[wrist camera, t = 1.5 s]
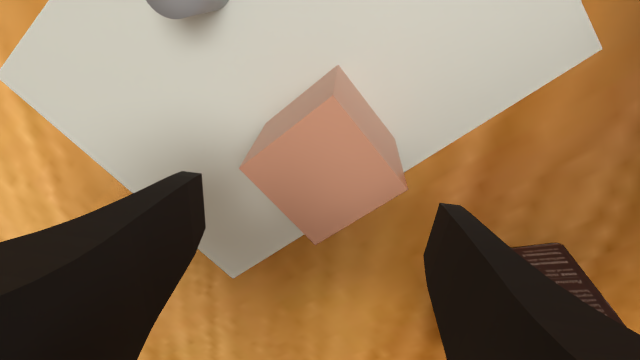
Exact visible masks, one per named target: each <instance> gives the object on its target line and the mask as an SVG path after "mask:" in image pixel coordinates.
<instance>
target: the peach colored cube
mask: <svg viewBox="0 0 640 360" xmlns="http://www.w3.org/2000/svg"><path fill="white" fill-rule="evenodd" d="M239 169H240V170H241V171H242V172H243V173H244V174H245V175H246V176H247V177H248V178H249V179H250V180H251V181H252V182H253V183H254V184H255V185H256V186H257V187H258V188H259V189H260V190H261V191H262V192H263V193H264V194H265V195H266V196H267V197H268V198H269V199H270V200H271V201H272V202H273V203H274V204H275V205H276V206H277V207H278V208H279V209H280V210H281V211H282V212H283V213H284V214H285V215H286V216H287V217H288V218H289V219H290V220H291V221H292V222H293V223H294V224H295V225H296V226H297V227H298V228H299V229H300V230H301V231H302V232H303V233H304V234H305V235H306V236H307V237H308V238H309V240H310V241H311V242H312V243H313V244H314V245H316V244H318V243H320V242H321V241H323V240H325V239H326V238H328V237H330V236H331V235H333V234H335V233H336V232H338V231H340V230H341V229H343V228H345V227H346V226H348V225H350V224H351V223H353V222H355V221H356V220H358V219H360V218H361V217H363V216H365V215H366V214H368V213H370V212H371V211H373V210H375V209H377V208H378V207H380V206H382V205H383V204H385V203H387V202H388V201H390V200H392V199H393V198H395V197H397V196H398V195H400V194H402V193H403V192H405V191H407V190H408V187H407V183H406V180H405V176H404V172H403V168H402V164H401V160H400V157H399V153H398V149H397V145H396V141H395V138H394V137H393V136H392V134H391V133H390V132H389V130H388V129H387V128H386V126H385V125H384V124H383V122H382V121H381V120H380V119H379V117H378V116H377V115H376V113H375V112H374V111H373V109H372V108H371V107H370V105H369V104H368V103H367V102H366V100H365V99H364V98H363V96H362V95H361V94H360V92H359V91H358V90H357V88H356V87H355V86H354V84H353V83H352V82H351V81H350V79H349V78H348V77H347V75H346V74H345V73H344V71H343V70H342V69H341V67H340V66H339V65H337V66H336V67H334V68H333V69H332V70H331V71H329V72H328V73H327V74H326V75H324V76H323V77H322V78H321V79H320V80H318V81H317V82H316V83H315V84H313V85H312V86H311V87H310V88H308V89H307V90H306V91H305V92H303V93H302V94H301V95H300V96H299V97H297V98H296V99H295V100H294V101H292V102H291V103H290V104H289V105H287V106H286V107H285V108H284V109H283V110H281V111H280V112H279V113H278V114H276V115H275V116H274V117H273V118H271V119H270V120H269V121H268V122H266V124H265V125H264V127H263V129H262V130H261V132H260V134H259V135H258V137H257V139H256V140H255V142H254V144H253V145H252V147H251V149H250V150H249V152H248V154H247V155H246V157H245V159H244V160H243V162H242V164H241V165H240V167H239Z"/></svg>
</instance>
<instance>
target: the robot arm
mask: <svg viewBox="0 0 640 360" xmlns="http://www.w3.org/2000/svg"><path fill="white" fill-rule="evenodd" d="M205 229H206V224H205V211H204V197H203V184H202V173H194V172H186V171H181V172H178V173H175V174H173V175H171V176H168V177H166V178H164V179H162V180H160V181H158V182H156V183H154V184H152V185H150V186H148V187H146V188H144V189H141V190H139V191H137V192H135V193H133V194H131V195H129V196H127V197H125V198H123V199H120V200H118V201H116V202H113V203H111V204H109V205H107V206H104V207H102V208H100V209H97V210H95V211H93V212H90V213H88V214H86V215H83V216H81V217H78V218H75V219H73V220H70V221H67V222H64V223H62V224H59V225H56V226H53V227H50V228H47V229H44V230H41V231H38V232H35V233H31V234H28V235H24V236H21V237H17V238H14V239H10V240H7V241H3V242H0V360H137V359H138V357H139V354H140V352H141V350H142V348H143V346H144V344H145V341H146V339H147V337H148V335H149V333H150V331H151V329H152V327H153V325H154V323H155V322H156V320H157V318H158V316H159V314H160V313H161V311H162V309H163V308H164V306H165V304H166V303H167V301H168V299H169V298H170V296H171V294H172V293H173V291H174V289H175V288H176V286H177V284H178V283H179V281H180V279H181V278H182V276H183V274H184V272H185V271H186V269H187V267H188V266H189V264H190V262H191V260H192V259H193V257H194V255H195V253H196V251H197V248H198V246H199V244H200V241H201V239H202V236H203V234H204V231H205ZM424 265H425V273H426V281H427V287H428V291H429V295H430V298H431V302H432V306H433V310H434V313H435V317H436V321H437V324H438V328H439V332H440V335H441V339H442V343H443V346H444V350H445V354H446V358H447V360H640V335H639V334H637V333H636V332H634V331H632V330H630V329H628V328H627V327H625V326H623V325H622V324H620V323H618V322H617V321H615V320H613V319H611V318H610V317H608V316H606V315H605V314H603V313H601V312H599V311H598V310H596V309H595V308H593V307H591V306H590V305H588V304H587V303H585V302H583V301H582V300H580V299H579V298H577V297H576V296H574V295H573V294H571V293H570V292H568V291H567V290H566V289H564V288H563V287H561V286H560V285H558V284H557V283H555V282H554V281H552V280H551V279H550V278H548V277H547V276H545V275H544V274H543V273H541V272H540V271H539V270H538V269H536V268H535V267H534V266H532V265H531V264H530V263H529V262H527V261H526V260H525V259H523V258H522V257H521V256H520V255H519V254H517V253H516V252H515V251H514V250H512V249H511V248H510V247H509V246H508V245H506V244H505V243H504V242H503V241H502V240H501V239H499V238H498V237H497V236H496V235H495V234H494V233H493V232H491V231H490V230H489V229H488V228H487V227H486V226H485V225H483V224H482V223H481V222H480V221H479V220H478V219H477V218H475V217H474V216H473V215H472V214H471V213H470V212H468V211H467V210H466V209H465V208H463V207H462V206H460V205H453V204H445V203H440V204H439V207H438V210H437V214H436V217H435V220H434V223H433V227H432V230H431V233H430V236H429V239H428V243H427V246H426V249H425V252H424Z"/></svg>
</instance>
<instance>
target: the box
mask: <svg viewBox="0 0 640 360" xmlns="http://www.w3.org/2000/svg"><path fill="white" fill-rule="evenodd" d="M511 249H512V250H514V251H515V252H516V253H517V254H519V255H520V256H521V257H522V258H523V259H525V260H526V261H527V262H529V263H530V264H531V265H532V266H534V267H535V268H536V269H538V270H539V271H540V272H541V273H543V274H544V275H545V276H547V277H548V278H550V279H551V280H552V281H554V282H555V283H557V284H558V285H560V286H561V287H563V288H564V289H566V290H567V291H568V292H570V293H571V294H573V295H574V296H576V297H577V298H579V299H580V300H582V301H583V302H585V303H587V304H588V305H590V306H591V307H593V308H595V309H596V310H598V311H599V312H601V313H603V314H605V315H606V316H608V317H610V318H611V319H613V320H615V321H617V322H618V323H620V324H622V325H623V326H625V325H624V323H623V322H622V321H621V319H620V318H619V317H618V315H617V314H616V313H615V311H614V310H613V309H612V308H611V306H610V305H609V303H608V302H607V301H606V300H605V299H604V297H603V296H602V295H601V293H600V292H599V291H598V289H597V288H596V287H595V286H594V284H593V283H592V281H591V280H590V279H589V278H588V277H587V275H586V274H585V272H584V271H583V270H582V269H581V267H580V266H579V265H578V263H577V262H576V261H575V260H574V258H573V257H572V256H571V255H570V253H569V252H568V251H567V249H566V248H565V247H564V246H563V245H561V244H559V243H552V244H541V245H532V246H527V247H518V248H511ZM625 327H626V326H625Z"/></svg>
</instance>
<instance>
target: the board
mask: <svg viewBox="0 0 640 360" xmlns="http://www.w3.org/2000/svg"><path fill="white" fill-rule="evenodd" d="M602 49H603V48H602V46H601V44H600V42H599V40H598V37H597V35H596V33H595V31H594V29H593V26H592V24H591V22H590V20H589V18H588V15H587V13H586V11H585V9H584V6H583V4H582V2H581V0H49V1H48V2H47V4H46V5H45V7H44V8H43V9H42V11H41V12H40V14H39V15H38V16H37V18H36V19H35V21H34V22H33V24H32V25H31V26H30V28H29V29H28V31H27V32H26V33H25V35H24V36H23V38H22V39H21V40H20V42H19V43H18V45H17V46H16V47H15V49H14V50H13V52H12V53H11V55H10V56H9V57H8V59H7V60H6V62H5V63H4V64H3V66H2V67H1V69H0V80H1V81H2V82H3V83H5V84H6V85H7V86H8V87H9V88H10V89H12V90H13V91H14V92H15V93H16V94H17V95H19V96H20V97H21V98H22V99H23V100H24V101H26V102H27V103H28V104H29V105H30V106H31V107H33V108H34V109H35V110H36V111H37V112H38V113H40V114H41V115H42V116H43V117H44V118H45V119H47V120H48V121H49V122H50V123H51V124H52V125H54V126H55V127H56V128H57V129H58V130H59V131H61V132H62V133H63V134H64V135H65V136H66V137H68V138H69V139H70V140H71V141H72V142H74V143H75V144H76V145H77V146H78V147H79V148H81V149H82V150H83V151H84V152H85V153H86V154H88V155H89V156H90V157H91V158H92V159H93V160H95V161H96V162H97V163H98V164H99V165H100V166H102V167H103V168H104V169H105V170H106V171H107V172H109V173H110V174H111V175H112V176H113V177H114V178H116V179H117V180H118V181H119V182H120V183H121V184H123V185H124V186H125V187H126V188H127V189H128V190H130V191H131V192H132V193H135V192H137V191H139V190H141V189H144V188H146V187H148V186H150V185H152V184H154V183H156V182H158V181H160V180H162V179H164V178H166V177H168V176H171V175H173V174H175V173H178V172H181V171H186V172H194V173H202V184H203V197H204V211H205V224H206V229H205V231H204V234H203V236H202V239H201V241H200V244H199V246H198V248H197V249H199V250H200V251H201V252H202V253H203V254H204V255H206V256H207V257H208V258H209V259H210V260H212V261H213V262H214V263H215V264H216V265H217V266H219V267H220V268H221V269H222V270H223V271H224V272H226V273H227V274H228V275H229V276H230V277H231V278H235V277H237V276H238V275H240V274H241V273H243V272H245V271H246V270H248V269H249V268H251V267H253V266H254V265H256V264H258V263H259V262H261V261H262V260H264V259H266V258H267V257H269V256H270V255H272V254H274V253H275V252H277V251H278V250H280V249H282V248H283V247H285V246H286V245H288V244H290V243H291V242H293V241H294V240H296V239H298V238H299V237H301V236H303V235H304V233H303V232H302V231H301V230H300V229H299V228H298V227H297V226H296V225H295V224H294V223H293V222H292V221H291V220H290V219H289V218H288V217H287V216H286V215H285V214H284V213H283V212H282V211H281V210H280V209H279V208H278V207H277V206H276V205H275V204H274V203H273V202H272V201H271V200H270V199H269V198H268V197H267V196H266V195H265V194H264V193H263V192H262V191H261V190H260V189H259V188H258V187H257V186H256V185H255V184H254V183H253V182H252V181H251V180H250V179H249V178H248V177H247V176H246V175H245V174H244V173H243V172H242V171H241V170H240V169H239V167H240V165H241V164H242V162H243V160H244V159H245V157H246V155H247V154H248V152H249V150H250V149H251V147H252V145H253V144H254V142H255V140H256V139H257V137H258V135H259V134H260V132H261V130H262V129H263V127H264V125H265V124H266V122H268V121H269V120H270V119H271V118H273V117H274V116H275V115H276V114H278V113H279V112H280V111H281V110H283V109H284V108H285V107H286V106H287V105H289V104H290V103H291V102H292V101H294V100H295V99H296V98H297V97H299V96H300V95H301V94H302V93H303V92H305V91H306V90H307V89H308V88H310V87H311V86H312V85H313V84H315V83H316V82H317V81H318V80H320V79H321V78H322V77H323V76H324V75H326V74H327V73H328V72H329V71H331V70H332V69H333V68H334V67H336V66H337V65H339V66H340V67H341V69H342V70H343V71H344V73H345V74H346V75H347V77H348V78H349V79H350V81H351V82H352V83H353V84H354V86H355V87H356V88H357V90H358V91H359V92H360V94H361V95H362V96H363V98H364V99H365V100H366V102H367V103H368V104H369V105H370V107H371V108H372V109H373V111H374V112H375V113H376V115H377V116H378V117H379V119H380V120H381V121H382V122H383V124H384V125H385V126H386V128H387V129H388V130H389V132H390V133H391V134H392V136H393V137H394V138H395V141H396V145H397V149H398V153H399V157H400V160H401V164H402V168H403V172H405V171H407V170H409V169H410V168H412V167H413V166H415V165H417V164H418V163H420V162H422V161H423V160H425V159H426V158H428V157H430V156H431V155H433V154H434V153H436V152H438V151H439V150H441V149H442V148H444V147H446V146H447V145H449V144H450V143H452V142H454V141H455V140H457V139H458V138H460V137H462V136H463V135H465V134H467V133H468V132H470V131H471V130H473V129H475V128H476V127H478V126H479V125H481V124H483V123H484V122H486V121H487V120H489V119H491V118H492V117H494V116H495V115H497V114H499V113H500V112H502V111H504V110H505V109H507V108H508V107H510V106H512V105H513V104H515V103H516V102H518V101H520V100H521V99H523V98H524V97H526V96H528V95H529V94H531V93H532V92H534V91H536V90H537V89H539V88H540V87H542V86H544V85H545V84H547V83H549V82H550V81H552V80H553V79H555V78H557V77H558V76H560V75H561V74H563V73H565V72H566V71H568V70H569V69H571V68H573V67H574V66H576V65H577V64H579V63H581V62H582V61H584V60H586V59H587V58H589V57H590V56H592V55H594V54H595V53H597V52H598V51H600V50H602Z"/></svg>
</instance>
